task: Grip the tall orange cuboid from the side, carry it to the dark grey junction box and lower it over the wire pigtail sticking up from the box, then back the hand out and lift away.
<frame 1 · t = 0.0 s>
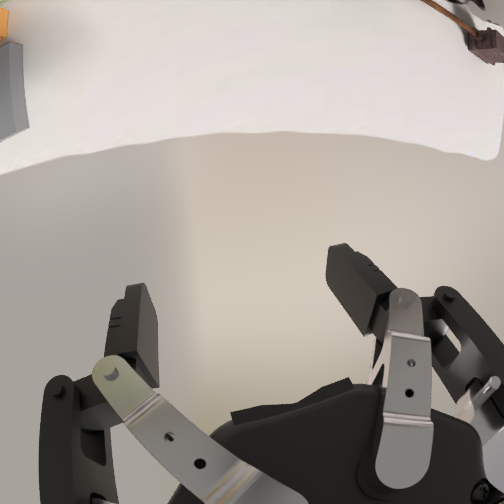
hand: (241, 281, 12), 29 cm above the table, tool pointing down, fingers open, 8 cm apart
hammer: (445, 21, 29), on the table
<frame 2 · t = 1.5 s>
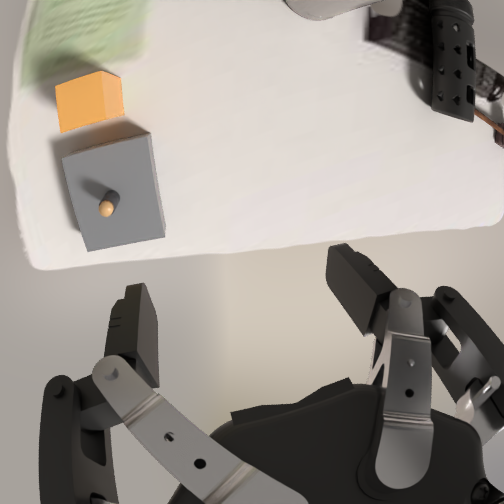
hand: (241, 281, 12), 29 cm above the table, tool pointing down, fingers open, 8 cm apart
tall orange cuboid: (103, 101, 29), on the table
junction box: (117, 188, 35), on the table
muzzle brake: (433, 49, 33), on the table
hammer: (483, 122, 45), on the table
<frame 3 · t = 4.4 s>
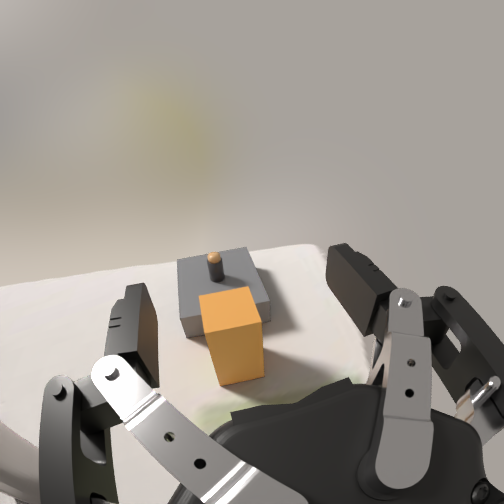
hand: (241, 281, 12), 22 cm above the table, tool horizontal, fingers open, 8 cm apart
tall orange cuboid: (237, 364, 33), on the table
junction box: (220, 297, 43), on the table
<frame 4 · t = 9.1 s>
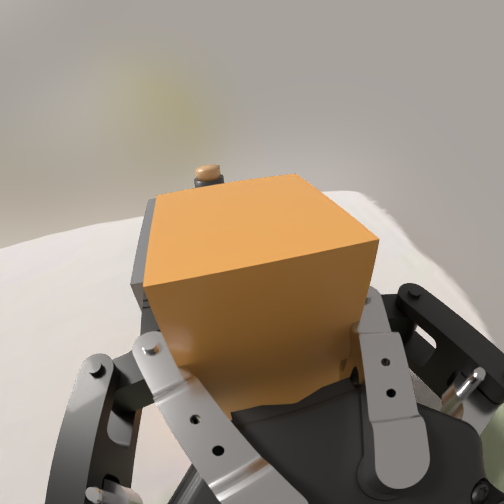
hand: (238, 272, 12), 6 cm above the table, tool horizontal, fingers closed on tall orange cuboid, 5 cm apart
tall orange cuboid: (260, 388, 13), on the table, touching gripper
junction box: (220, 258, 24), on the table
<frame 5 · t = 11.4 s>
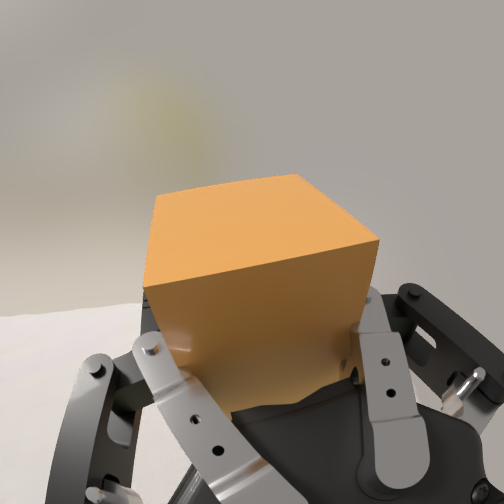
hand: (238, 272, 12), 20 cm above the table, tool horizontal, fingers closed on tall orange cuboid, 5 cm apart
tall orange cuboid: (260, 389, 13), point 14 cm above the table, touching gripper
when the fingers open (11 cm above the table, at t = 15.1 s): tall orange cuboid drops 1 cm, resting on junction box.
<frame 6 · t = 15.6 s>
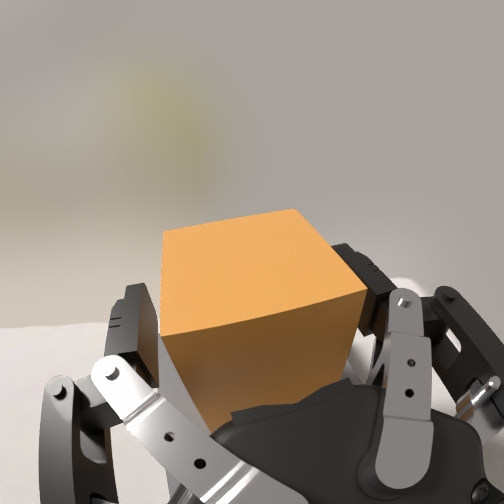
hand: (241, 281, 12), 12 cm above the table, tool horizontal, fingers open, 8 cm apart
tall orange cuboid: (260, 400, 14), point 4 cm above the table, touching junction box
junction box: (263, 424, 16), on the table
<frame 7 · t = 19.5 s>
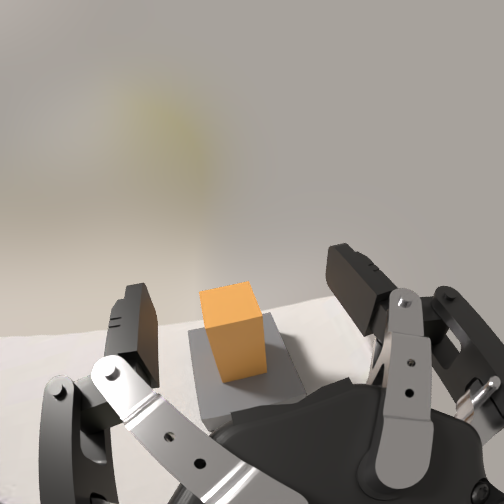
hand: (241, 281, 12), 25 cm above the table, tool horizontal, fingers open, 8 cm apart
tall orange cuboid: (239, 360, 32), point 4 cm above the table, touching junction box
junction box: (243, 376, 35), on the table
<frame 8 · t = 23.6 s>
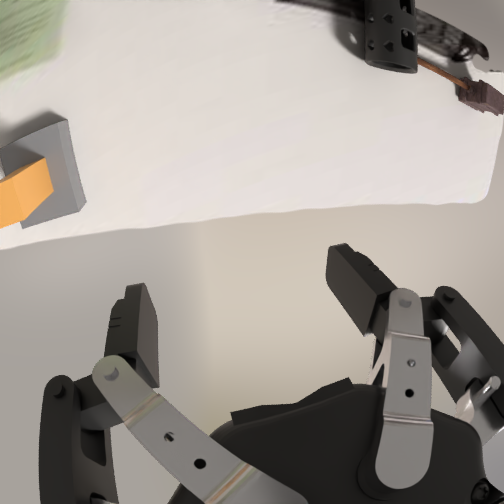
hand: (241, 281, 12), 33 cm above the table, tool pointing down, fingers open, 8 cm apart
tall orange cuboid: (35, 179, 30), point 4 cm above the table, touching junction box
junction box: (46, 171, 33), on the table
muzzle brake: (369, 4, 30), on the table
hammer: (438, 76, 40), on the table
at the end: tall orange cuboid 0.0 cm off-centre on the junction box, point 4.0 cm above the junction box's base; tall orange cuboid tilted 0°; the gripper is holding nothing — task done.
